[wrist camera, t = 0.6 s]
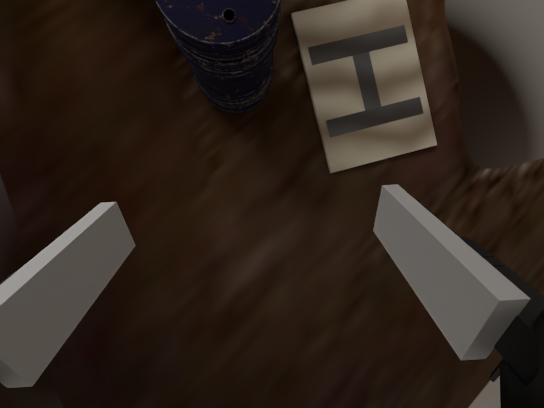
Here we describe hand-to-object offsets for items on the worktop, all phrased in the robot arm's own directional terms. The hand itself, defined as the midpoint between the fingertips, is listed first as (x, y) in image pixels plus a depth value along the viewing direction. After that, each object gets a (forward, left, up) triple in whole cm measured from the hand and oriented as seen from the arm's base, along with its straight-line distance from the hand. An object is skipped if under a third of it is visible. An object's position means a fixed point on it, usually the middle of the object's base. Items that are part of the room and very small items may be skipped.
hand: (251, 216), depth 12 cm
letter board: (-12, +19, -21) cm, 31 cm away
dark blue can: (-17, +2, -21) cm, 27 cm away
